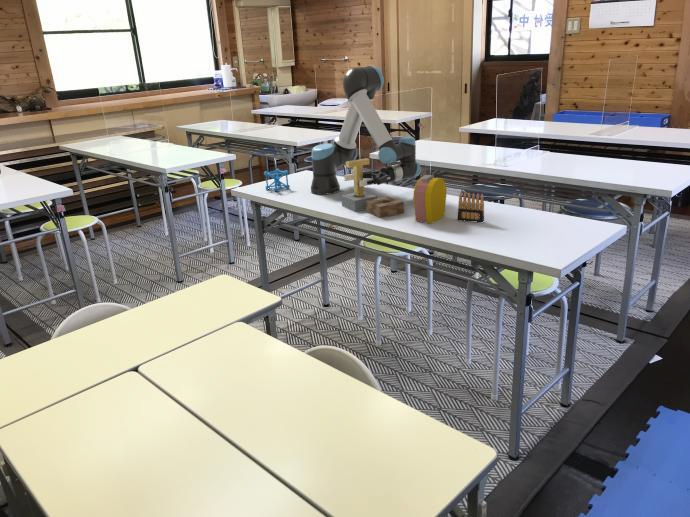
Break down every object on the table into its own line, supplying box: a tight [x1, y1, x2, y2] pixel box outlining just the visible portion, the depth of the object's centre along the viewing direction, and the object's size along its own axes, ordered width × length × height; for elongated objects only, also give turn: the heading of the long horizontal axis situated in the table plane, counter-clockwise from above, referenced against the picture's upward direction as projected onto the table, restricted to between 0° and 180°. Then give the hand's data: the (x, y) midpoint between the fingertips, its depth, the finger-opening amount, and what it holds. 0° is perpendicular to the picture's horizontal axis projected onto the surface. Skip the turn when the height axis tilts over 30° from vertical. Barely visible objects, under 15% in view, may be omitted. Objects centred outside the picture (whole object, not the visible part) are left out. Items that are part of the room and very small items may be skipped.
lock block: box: [365, 196, 405, 219], centre depth 239 cm, size 12×12×5 cm
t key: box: [345, 157, 370, 198], centre depth 248 cm, size 3×11×21 cm, turn 120°
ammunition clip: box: [456, 191, 485, 223], centre depth 220 cm, size 11×2×12 cm, turn 62°
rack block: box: [341, 190, 378, 212], centre depth 251 cm, size 12×12×5 cm
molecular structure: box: [263, 168, 291, 192], centre depth 289 cm, size 10×10×10 cm
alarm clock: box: [412, 174, 447, 224], centre depth 225 cm, size 15×8×18 cm, turn 145°
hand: (352, 180), depth 245 cm, fingers open, 13 cm apart
